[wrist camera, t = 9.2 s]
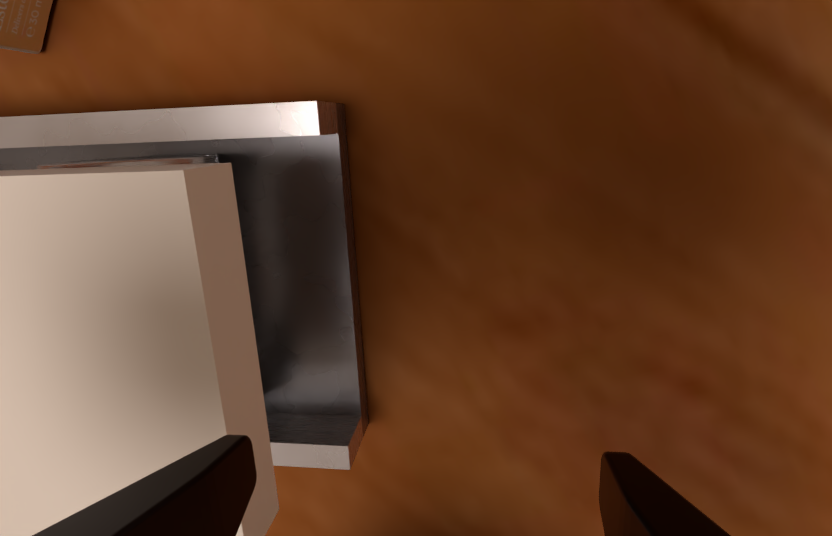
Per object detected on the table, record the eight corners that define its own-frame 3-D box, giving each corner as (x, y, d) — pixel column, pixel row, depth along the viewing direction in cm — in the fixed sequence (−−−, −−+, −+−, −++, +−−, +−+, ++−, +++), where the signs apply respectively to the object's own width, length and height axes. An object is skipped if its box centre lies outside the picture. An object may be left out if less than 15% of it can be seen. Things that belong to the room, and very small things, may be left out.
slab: (230, 162, 12) (183, 170, 10) (279, 508, 15) (248, 565, 13) (-118, 174, 14) (-217, 183, 12) (-16, 488, 16) (-82, 536, 14)
